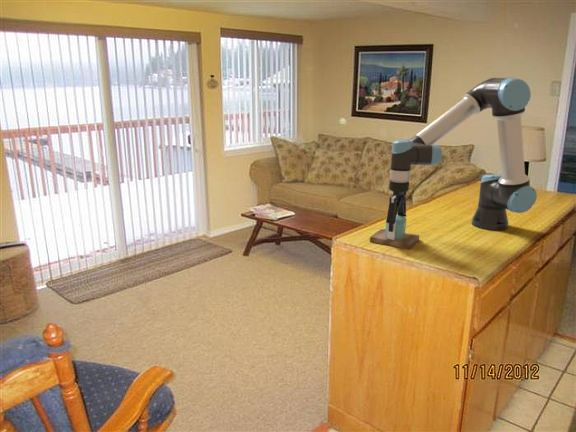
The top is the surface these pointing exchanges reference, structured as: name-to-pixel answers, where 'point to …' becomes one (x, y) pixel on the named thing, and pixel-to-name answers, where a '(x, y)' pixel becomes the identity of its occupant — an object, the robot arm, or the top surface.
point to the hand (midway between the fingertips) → (395, 235)
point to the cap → (398, 227)
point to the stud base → (402, 243)
